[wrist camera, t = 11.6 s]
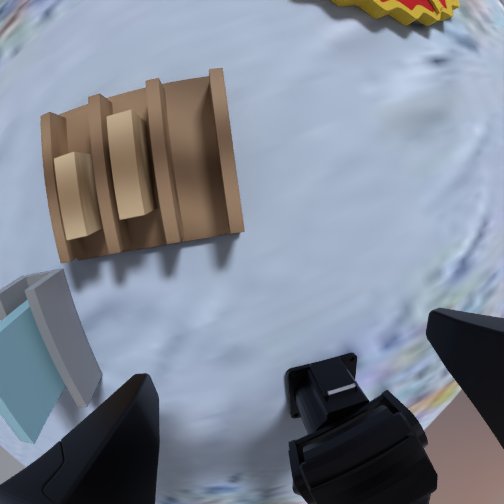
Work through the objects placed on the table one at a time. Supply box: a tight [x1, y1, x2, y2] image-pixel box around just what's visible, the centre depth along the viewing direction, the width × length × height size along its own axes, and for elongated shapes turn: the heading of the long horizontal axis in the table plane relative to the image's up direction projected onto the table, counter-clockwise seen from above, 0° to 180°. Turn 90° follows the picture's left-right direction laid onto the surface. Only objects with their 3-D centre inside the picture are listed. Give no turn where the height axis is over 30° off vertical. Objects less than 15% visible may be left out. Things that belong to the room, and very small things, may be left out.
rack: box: [41, 68, 245, 263], centre depth 16 cm, size 11×12×3 cm
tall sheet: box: [0, 300, 66, 444], centre depth 14 cm, size 7×2×10 cm, turn 7°
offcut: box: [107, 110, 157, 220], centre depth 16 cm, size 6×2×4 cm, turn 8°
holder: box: [0, 269, 102, 407], centre depth 17 cm, size 10×5×4 cm, turn 8°
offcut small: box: [54, 152, 103, 240], centre depth 15 cm, size 5×2×4 cm, turn 8°
